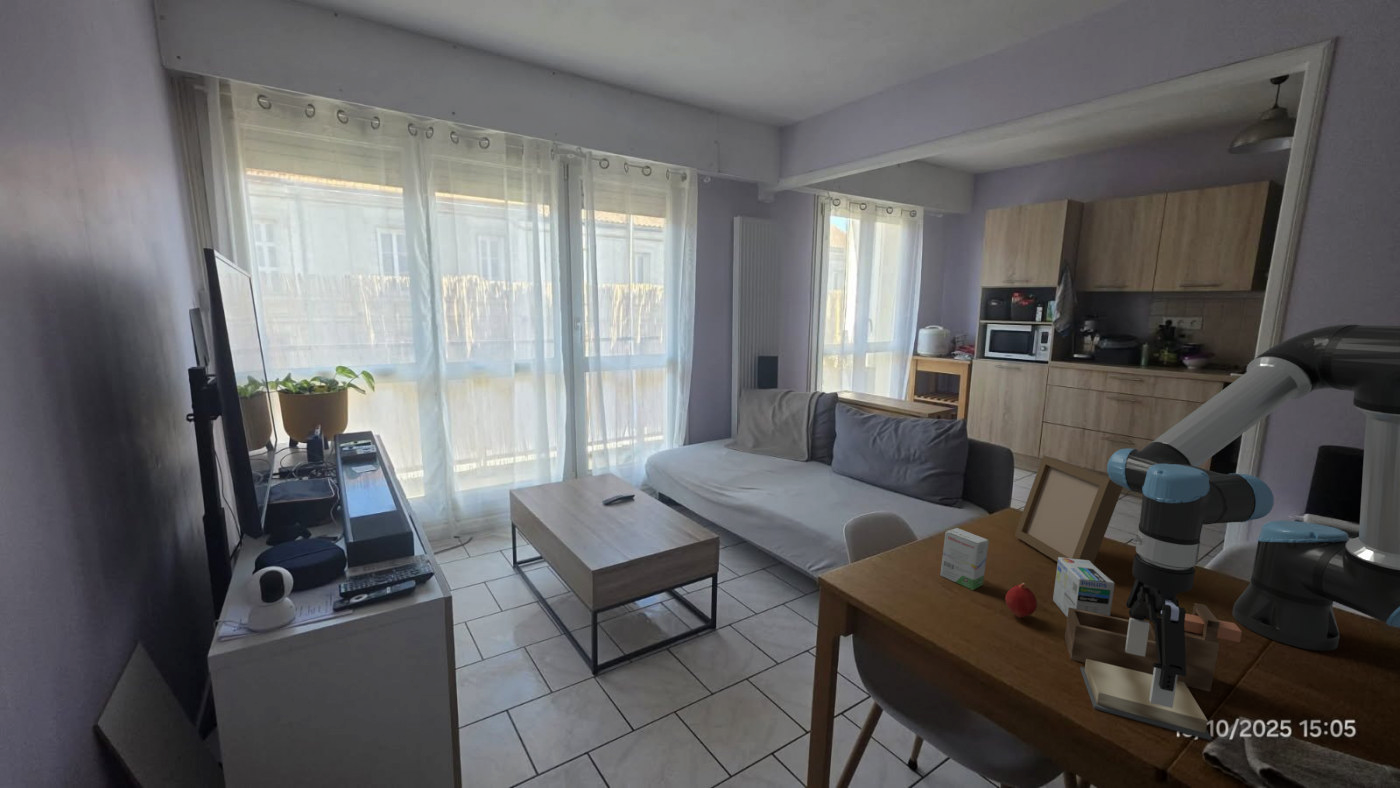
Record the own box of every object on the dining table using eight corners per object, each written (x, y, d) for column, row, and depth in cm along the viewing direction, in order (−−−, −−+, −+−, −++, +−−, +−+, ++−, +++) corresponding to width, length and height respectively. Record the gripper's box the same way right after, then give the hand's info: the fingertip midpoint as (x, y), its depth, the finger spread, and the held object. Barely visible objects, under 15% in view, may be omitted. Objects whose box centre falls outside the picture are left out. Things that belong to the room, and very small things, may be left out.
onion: (998, 609, 119) (1002, 575, 117) (1024, 609, 118) (1028, 576, 117) (1012, 624, 113) (1017, 589, 111) (1040, 625, 113) (1045, 590, 111)
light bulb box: (1109, 631, 111) (1116, 583, 109) (1073, 626, 112) (1079, 579, 111) (1083, 603, 121) (1090, 559, 120) (1051, 600, 123) (1056, 556, 121)
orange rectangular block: (1232, 633, 95) (1234, 623, 94) (1239, 642, 92) (1242, 631, 92) (1174, 621, 98) (1176, 611, 98) (1180, 629, 96) (1182, 619, 95)
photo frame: (1073, 576, 134) (1088, 480, 130) (1013, 538, 155) (1024, 455, 151) (1127, 574, 135) (1143, 479, 131) (1060, 537, 157) (1072, 455, 153)
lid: (1182, 693, 92) (1184, 682, 92) (1205, 733, 84) (1207, 720, 83) (1084, 669, 98) (1086, 658, 98) (1096, 704, 90) (1098, 692, 89)
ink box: (939, 575, 133) (943, 531, 131) (951, 570, 136) (955, 526, 134) (973, 591, 126) (978, 544, 124) (984, 584, 129) (989, 538, 127)
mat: (1183, 694, 93) (1184, 692, 93) (1211, 740, 83) (1211, 737, 83) (1080, 669, 99) (1080, 666, 99) (1094, 708, 89) (1094, 706, 89)
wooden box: (1195, 669, 99) (1207, 604, 97) (1211, 693, 93) (1224, 624, 91) (1064, 639, 108) (1072, 578, 106) (1071, 659, 102) (1080, 595, 100)
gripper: (1115, 526, 99) (1101, 630, 103) (1161, 591, 77) (1142, 721, 81) (1166, 533, 96) (1150, 640, 100) (1230, 603, 74) (1206, 738, 78)
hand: (1146, 677), depth 90 cm, fingers open, 13 cm apart
